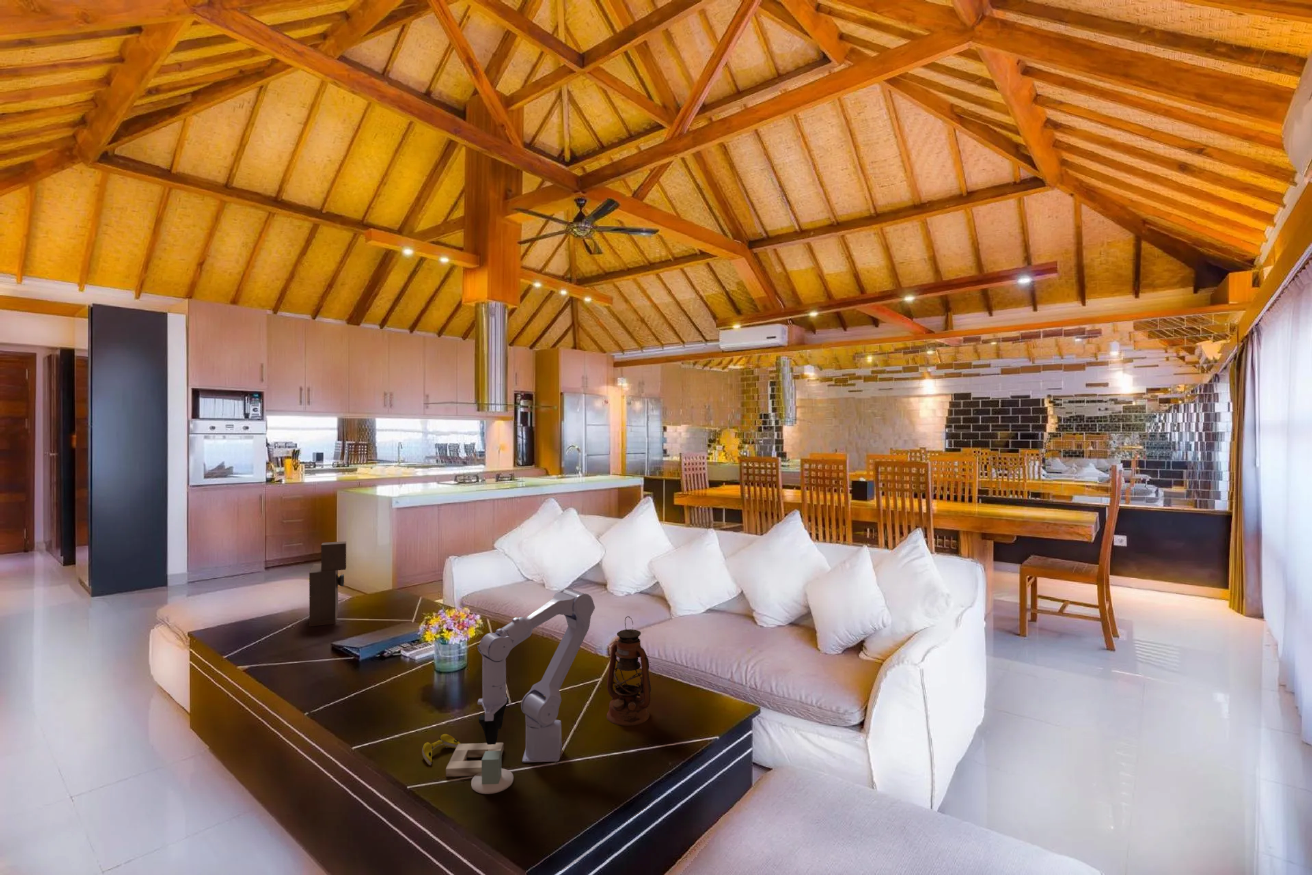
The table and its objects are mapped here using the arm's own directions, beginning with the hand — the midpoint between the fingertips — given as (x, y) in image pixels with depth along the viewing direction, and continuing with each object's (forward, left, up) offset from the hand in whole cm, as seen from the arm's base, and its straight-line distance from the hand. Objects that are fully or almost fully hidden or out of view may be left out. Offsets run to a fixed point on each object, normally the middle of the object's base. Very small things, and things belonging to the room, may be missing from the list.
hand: (494, 735), depth 155 cm
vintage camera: (+100, -130, -10) cm, 164 cm away
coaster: (0, +4, -9) cm, 10 cm away
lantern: (-34, -29, -10) cm, 46 cm away
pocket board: (+6, -5, -9) cm, 12 cm away
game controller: (+16, -10, -10) cm, 21 cm away
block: (0, +4, -9) cm, 10 cm away
